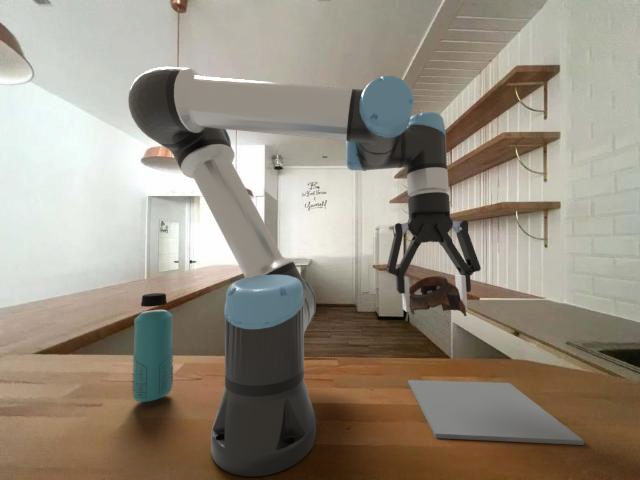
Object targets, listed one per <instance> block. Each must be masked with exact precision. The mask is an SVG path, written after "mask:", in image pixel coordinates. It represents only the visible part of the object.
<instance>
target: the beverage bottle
mask: <svg viewBox="0 0 640 480" xmlns="http://www.w3.org/2000/svg"><path fill="white" fill-rule="evenodd" d="M163 305H167V294H166V293H165V292H164V293H163V292H154V293H153V292H152V293H146V294H142V297H141V304H140V306H141V307H143V308H144V307H147V308H149V307H159V306H163ZM173 316H174V315H173V314H172V313H171V312H170V311H168V310H166V309H154V310H146V311H142V312H140V313H139V314H138V315H137V316H136V317H135V318H134V319H133V320H134V321H133V323H134V332H133V333H134V335H133V339H134V341H133V355H132V356H133V357H132V358H133V364H132V371H133V373H131V374H132V376H131V377H132V380H131V389H132V391H131V392H132V393H131V394H132V397H133V399H134V401H136V402H141V403H142V402H143V403H144V402H145V403H146V402H153V401H156V400H159V399H161V398H164V397H165V396H167V395H168V394H170V392H171V391H172V389H173V383H174V381H173V370H174V365H173V361H174V359H173V358H174V357H173V351H174V347H173V346H174V344H173V343H174V342H173V341H174V340H173V318H174V317H173Z"/></svg>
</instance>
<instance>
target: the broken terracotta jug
mask: <svg viewBox="0 0 640 480" xmlns="http://www.w3.org/2000/svg"><path fill="white" fill-rule="evenodd" d="M419 290H420V293H421V294H416V293H417V292H418V291H419ZM458 291H459V290H458V289H457V287H456V285H455V284H453V283H451V282H449V281H448V279H447V278H446V277H445V276H443V275H437V274H434V275H428V276H425V277H423V278H419V279H418V280H416V281H415V282H413V283H412V284H411V286H409V293H410V313H411V314H412V316H414V315H415V311H418V310H419V311H422V310H425V311H427V310H429V309H431V308H436V307H439V306H441V309H442V311H443V312H445V311H459V312H461V313H462V314H463V316H464V317H467V311H466V308H465V305H464V304H463V302H462V301H461V299H460V294H459V292H458Z"/></svg>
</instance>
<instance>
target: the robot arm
mask: <svg viewBox="0 0 640 480" xmlns="http://www.w3.org/2000/svg"><path fill="white" fill-rule="evenodd" d="M127 98H128V99H127V100H128V109H129V112H130V115H131V117H132V119H133V121H134V123H135V124H136V126H137V127H138V128H139V130H140V131H141V132H142V133H143V134H144V135H146V136H147V137H148V138H150V139H151V140H153V141H154V142H156V143H158V144H159V145H160V146H162V147H164V148H166V149H167V150H168V151H170V152H171V154H172V155H173V157H174V160H175V162H176V163H177V165H178V167H179V169H180V171H181V173H182V174H183V175H184V176H185V177H187V178H190V179H194V181H195V183H196V185H197V187H198V189H199V191H200V193H201V195H202V197H203V199H204V201H205V203H206V205H207V207H208V208H209V210H210V213H211V214H212V216H213V218H214V219H215V222H216V224H217V226H218V227H219V230H220V232H221V233H222V235H223V237H224V239H225V241H226V243H227V246H229V249H230V251H231V253H232V255H233V256H234V259H235V260H236V262H237V264H238V266H239V268H240V271H241V272H242V274H243V276H244V278H241V279H238V280H236V281H234V282H232V283H231V284H230V285H229V286H228V288H227V290H226V293H225V303H224V304H225V305H224V306H223V315H224V390H223V393H222V396H221V399H220V402H219V406H218V408H217V411H216V415H215V418H214V421H213V424H212V428H211V433H210V453H211V454H210V455H211V457H212V460H213V461H214V462H215V464H216V465H217V466H218V467H219V468H221V469H222V470H224V471H225V472H228V473H229V474H233V475H237V476H241V477H263V476H269V475H273V474H277V473H280V472H282V471H285V470H287V469H289V468H291V467H293V466H295V465H296V464H297V463H299V462H300V461H302V460H303V459H304V458H305V457H306V456H307V455H308V454H309V452H310V451H311V450H312V449H313V447H314V444H315V442H316V438H317V418H316V414H315V410H314V408H313V404H312V401H311V398H310V395H309V391H308V389H307V386H306V382H305V352H304V351H305V343H304V341H305V339H304V338H305V337H304V336H305V332H306V330H307V329H308V326H310V325H311V323H312V321H313V320H314V317H315V314H316V309H317V300H316V299H317V298H316V295H315V292H314V289H313V288H312V286H311V285H310V284H309V282H308V281H306V280H305V279H304V278H303V277H302V275H301V273H300V272H299V269H298V267H297V266H296V264H295V262H294V261H293V260H292V259H289V258H285V257H284V256H282V253H281V252H280V250H279V248H278V246H277V244H276V242H275V240H274V239H273V237H272V235H271V233H270V231H269V229H268V228H267V225H266V223H265V222H264V220H263V218H262V216H261V215H260V213H259V210H258V209H257V207H256V205H255V203H254V202H253V200H252V198H251V196H250V193H249V192H248V191H247V188H246V186H245V185H244V183H243V181H242V179H241V177H240V176H239V173H238V172H237V170H236V168H235V166H234V164H233V162H234V159H235V152H234V149H233V147H232V145H231V144H232V143H231V142H232V141H231V139H230V136H229V133H228V131H229V130H230V131H240V132H249V133H250V132H251V133H261V134H270V135H271V134H272V135H281V136H294V137H302V138H303V137H304V138H315V139H324V140H325V139H326V140H337V141H345V152H346V153H345V155H346V156H345V157H346V167H347V168H348V170H350V171H362V172H366V171H372V170H375V171H376V170H387V169H401V168H405V169H406V180H407V181H406V183H407V184H406V187H407V188H406V189H407V195H408V196H409V197H408V199H407V207H408V219H407V222H405V223H404V222H403V223H400V222H398V223H394V224H393V226H392V231H393V239H392V243H391V247H390V252H389V256H388V259H387V264H386V272H387V274H391V275H394V276H395V279H396V292H397V293H398V294H401V297H402V310H403V311H405V312H406V313H411V310H410V293H409V288H410V278H409V276H407V275H405V274H406V273H407V270H408V269H409V266H410V264H412V261H413V259H414V257H415V255H416V254H417V251H418V250H419V247H420V246H421V244H422V243H423V244H424V243H429V242H430V243H439V245H440V246H441V247H442V248H443V250H444V251H445V253H446V254H447V256H448V257H449V259H450V261H451V262H452V264H453V266H455V267H454V268H456V270H457V272H458V273H459V274H455V275H454V279H455V281H454V283H455V286H456V287H457V289H458V290H459V291H458V292H459V294H460V299H461V301H462V302H463V304H464V305H465V308H466V312H468V311H469V310H468V297H467V293H471V290H472V285H471V276H472V275H473V274H474V273H475V272H480V271H481V269H482V268H481V264H480V262H479V259H478V256H477V254H476V250H475V247H474V245H473V242H472V239H471V236H470V234H469V221H468V220H461V221H455V220H453V219H452V218H451V206H450V195H449V194H448V193H447V192H449V186H450V185H449V173H448V163H447V162H448V161H447V134H446V126H445V121H444V118H443V117H442V115H441V114H439V113H438V112H434V111H423V112H421V113H419V114H414V115H412V112H413V110H414V108H415V97H414V92H413V90H412V88H411V86H410V85H409V83H407V82H406V81H405V80H404V79H403V78H400V77H398V76H395V75H390V74H389V75H388V74H387V75H382V76H380V77H378V78H374V79H372V80H371V81H370V82H369V83H368V84H367V85H366V86H365V87H364V89H362V88H361V89H358V88H357V89H356V88H355V89H354V88H345V87H334V86H322V85H321V86H320V85H310V84H309V85H308V84H297V83H296V84H295V83H284V82H275V81H273V82H272V81H258V80H247V79H246V80H245V79H236V78H235V79H234V78H222V77H221V78H220V77H211V76H207V77H206V76H201V75H200V74H199V73H198V72H197V71H196V70H195V69H192V68H189V67H173V66H164V67H157V68H152V69H149V70H147V71H145V72H143V73H142V74H140V75H139V76H138V77H136V78H135V79H134V81H133V83H132V85H130V90H129V91H128V97H127ZM407 229H408V231H409V232H410V233H411V234H412V238H411V240H410V242H409V245H408V247H407V249H406V251H405V253H404V255H403V257H402V258H401V260H400V263H399V264H398V266H397V263H398V259H399V255H400V250H401V246H402V242H403V235H405V233H407ZM451 229H453V232H455V233H456V237H457V240H458V244H459V246H460V250H461V252H462V255H463V257H462V255H461V253H460V252H459V250H458V248H457V247H456V245H455V244H454V242H453V239H452V237H451V236H450V235H449V233H450V230H451ZM396 267H397V268H396Z"/></svg>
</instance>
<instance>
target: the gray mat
mask: <svg viewBox="0 0 640 480" xmlns="http://www.w3.org/2000/svg"><path fill="white" fill-rule="evenodd" d="M407 381H408V383H407V384H408V386H409V387H410V389H411V392H412V393H413V395H414V397H415V399H416V402H417V404H418V405H419V407H420V409H421V412H422V414H423V415H424V418H425V419H426V421H427V424H428V425H429V427H430V430H431V432H432V434H433V436H434V438H436V439H452V440H453V439H454V440H473V441H474V440H475V441H493V442H495V441H496V442H515V443H537V444H554V445H555V444H556V445H575V446H577V445H578V446H584V445H585V443H584V441H585V440H584V439H582V438H581V437H580V436H579V435H577V434H576V433H575V432H573V431H572V430H571V429H569V428H568V427H567V426H565V424H563V423H562V422H560V421H559V419H557V418H555V417H554V416H553V415H551V414H550V413H549V412H548V411H546V410H545V409H544V408H543V407H541V406H540V405H538V404H537V403H536V402H535V401H533V400H532V399H531V398H529V397H528V396H527V395H526V394H524V393H523V392H522V391H521V390H519V389H518V388H517V387H515V386H514V385H512V384H511V383H510V382H487V381H486V382H485V381H481V382H480V381H454V380H452V381H449V380H448V381H447V380H424V379H423V380H421V379H418V380H415V379H408V380H407Z"/></svg>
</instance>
